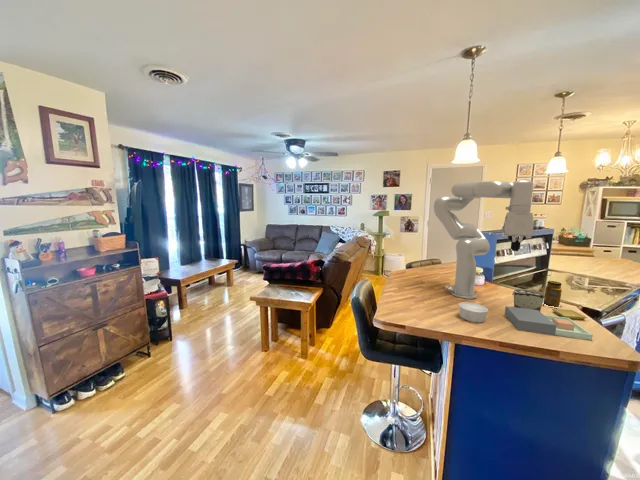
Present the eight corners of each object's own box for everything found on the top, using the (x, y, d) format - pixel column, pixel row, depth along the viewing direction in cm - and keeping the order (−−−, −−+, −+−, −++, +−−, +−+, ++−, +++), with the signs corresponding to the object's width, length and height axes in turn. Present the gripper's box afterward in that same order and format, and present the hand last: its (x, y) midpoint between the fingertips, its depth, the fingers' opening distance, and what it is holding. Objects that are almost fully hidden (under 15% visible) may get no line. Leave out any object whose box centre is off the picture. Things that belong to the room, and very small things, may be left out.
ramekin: (474, 325, 108) (476, 313, 107) (451, 315, 118) (452, 303, 118) (493, 321, 112) (494, 309, 112) (469, 311, 123) (470, 300, 122)
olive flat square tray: (563, 320, 116) (564, 315, 116) (550, 312, 125) (551, 308, 124) (586, 322, 115) (587, 317, 114) (571, 314, 123) (572, 309, 123)
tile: (574, 324, 104) (573, 330, 104) (567, 319, 108) (566, 325, 109) (558, 322, 105) (558, 328, 105) (552, 317, 110) (551, 323, 110)
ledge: (517, 329, 105) (519, 320, 104) (504, 314, 120) (505, 306, 119) (555, 335, 101) (556, 325, 101) (536, 318, 116) (537, 310, 116)
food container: (537, 311, 125) (539, 290, 124) (543, 316, 119) (545, 294, 118) (506, 307, 129) (508, 287, 128) (510, 311, 123) (513, 291, 122)
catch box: (555, 335, 101) (555, 329, 101) (536, 318, 116) (537, 313, 116) (591, 340, 97) (592, 334, 97) (568, 322, 112) (568, 317, 112)
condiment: (562, 306, 132) (565, 282, 131) (556, 309, 128) (560, 285, 126) (544, 301, 138) (547, 279, 137) (538, 304, 134) (541, 281, 132)
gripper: (502, 209, 115) (497, 250, 117) (544, 210, 110) (538, 253, 112) (497, 209, 122) (493, 248, 124) (536, 209, 117) (531, 250, 119)
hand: (514, 250), depth 118 cm, fingers closed
